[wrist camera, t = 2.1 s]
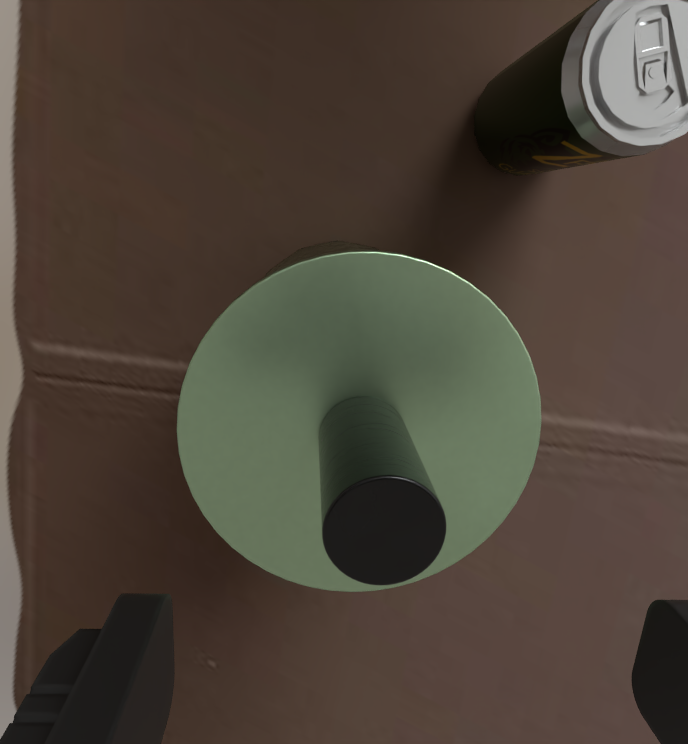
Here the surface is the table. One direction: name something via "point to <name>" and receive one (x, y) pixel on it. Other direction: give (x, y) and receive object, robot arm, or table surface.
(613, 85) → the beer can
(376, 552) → the bin lid
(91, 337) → the table surface
